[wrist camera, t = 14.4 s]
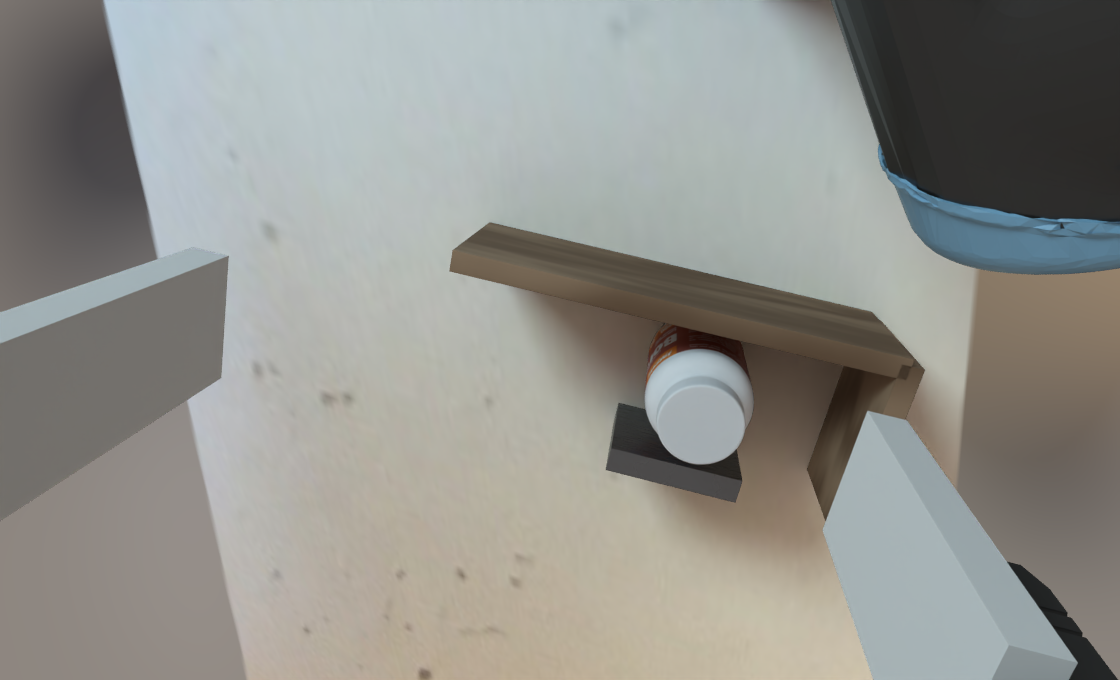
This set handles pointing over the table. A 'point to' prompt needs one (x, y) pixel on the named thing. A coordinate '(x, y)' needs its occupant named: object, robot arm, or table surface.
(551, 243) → the wooden corner wall
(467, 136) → the table surface
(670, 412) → the pill bottle
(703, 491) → the dark rectangular block
